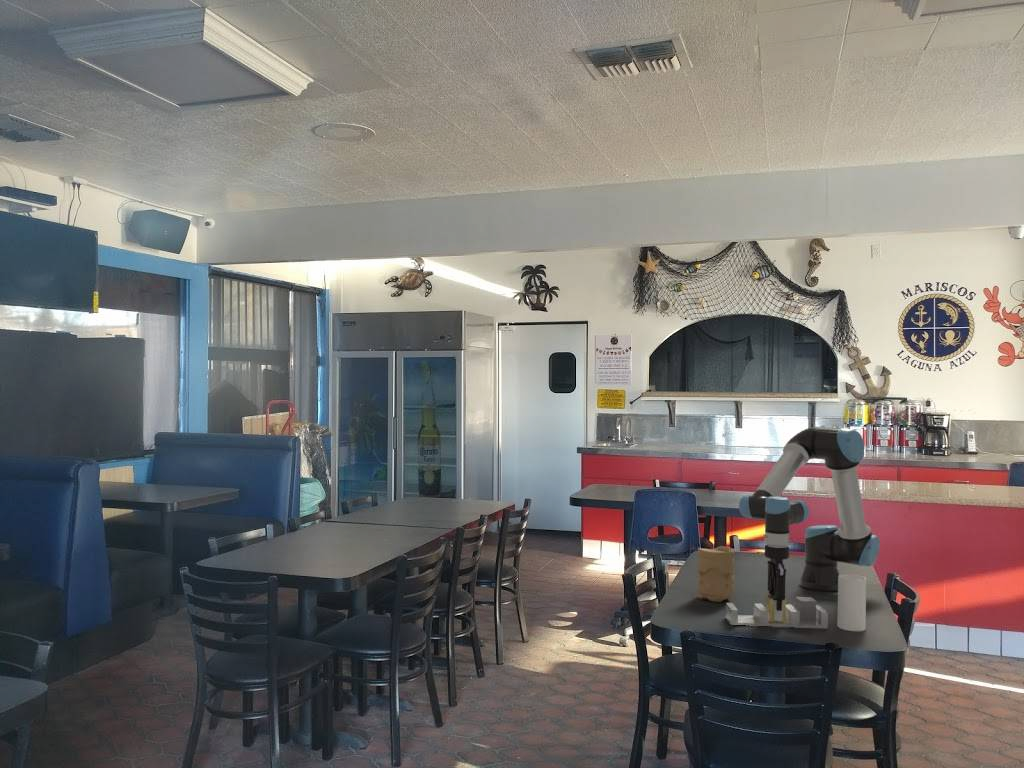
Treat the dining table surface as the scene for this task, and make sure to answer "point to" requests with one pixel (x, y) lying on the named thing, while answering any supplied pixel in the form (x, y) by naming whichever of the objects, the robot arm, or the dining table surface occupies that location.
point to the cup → (851, 602)
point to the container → (715, 573)
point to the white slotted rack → (800, 617)
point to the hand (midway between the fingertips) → (775, 617)
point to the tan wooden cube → (771, 607)
